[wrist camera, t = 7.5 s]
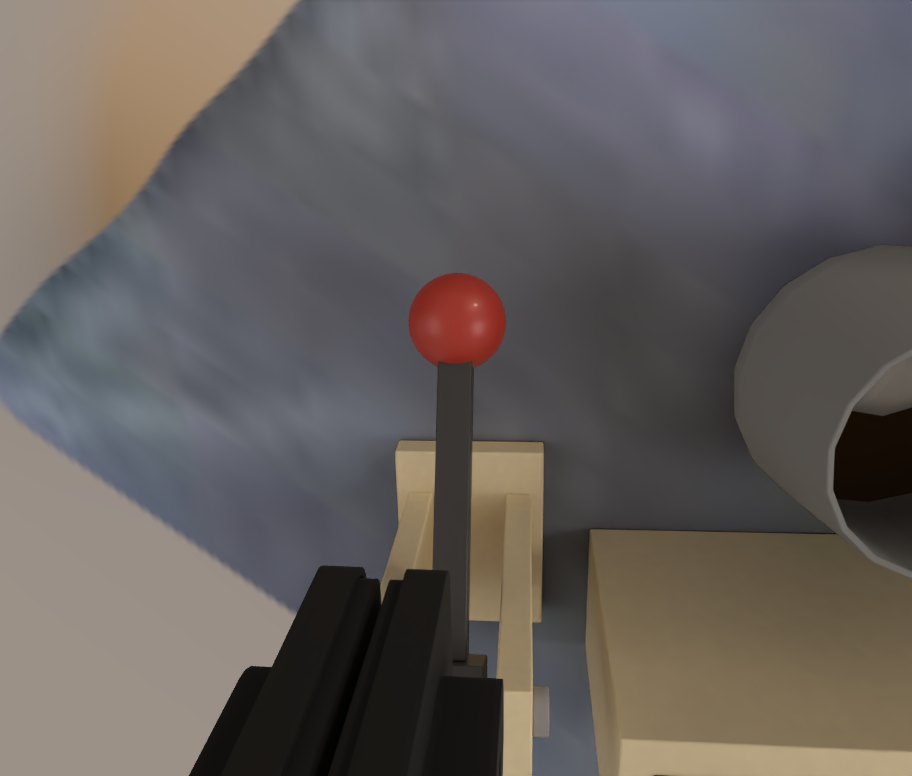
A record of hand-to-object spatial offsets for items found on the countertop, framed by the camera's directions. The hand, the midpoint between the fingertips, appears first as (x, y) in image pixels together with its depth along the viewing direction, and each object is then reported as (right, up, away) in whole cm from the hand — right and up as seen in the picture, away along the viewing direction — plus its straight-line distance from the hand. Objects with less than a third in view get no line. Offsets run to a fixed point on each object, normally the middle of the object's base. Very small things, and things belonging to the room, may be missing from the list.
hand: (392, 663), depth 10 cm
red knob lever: (+1, 0, +16) cm, 16 cm away
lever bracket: (+2, -2, +24) cm, 24 cm away
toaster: (+13, -5, +24) cm, 27 cm away
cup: (+15, +5, +20) cm, 26 cm away
